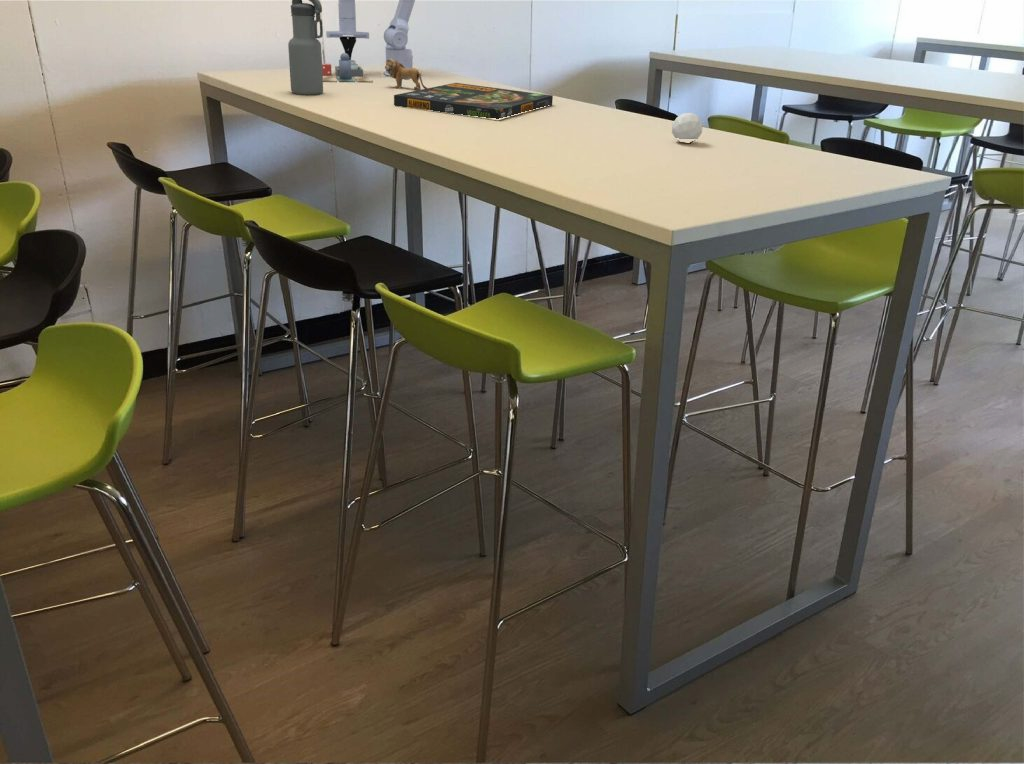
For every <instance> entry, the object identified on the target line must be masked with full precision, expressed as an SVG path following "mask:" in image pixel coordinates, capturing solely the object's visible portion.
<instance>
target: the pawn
mask: <svg viewBox="0 0 1024 764" xmlns="http://www.w3.org/2000/svg"><path fill="white" fill-rule="evenodd" d="M339 56H340V59H338V66H339V76H340V79H344V80H349V79H352V78H353V77H352V78H351V60H352V59H351V60H349V55H348V54H347V53H345V52H342V53H341V54H340V55H339Z"/></svg>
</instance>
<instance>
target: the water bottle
mask: <svg viewBox="0 0 1024 764" xmlns="http://www.w3.org/2000/svg"><path fill="white" fill-rule="evenodd" d="M308 1H309V2H310V3H308V2H307V3H306V2H303V0H291V5H290V14H291V15H290V16H291V20H292V36H293V37H292V38H291V39H289V41H288V44H287V45H288V47H287V48H288V49H287V50H288V62H289V63H288V64H289V77H290V80H289V81H290V90H291V92H292V93H293V94H295V95H301V96H315V95H316V96H317V95H320V94H323V92H324V82H323V76H324V75H323V74H322V64H323V56H322V44H321V41H320V40H319V39H320V38H321V39H322V38H323V35H324V31H323V30H324V29H323V20H322V19H321V13H322V12H323V8H322V4H321V2H320V0H308ZM318 23H319V31H320V32H319V35H318Z"/></svg>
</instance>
